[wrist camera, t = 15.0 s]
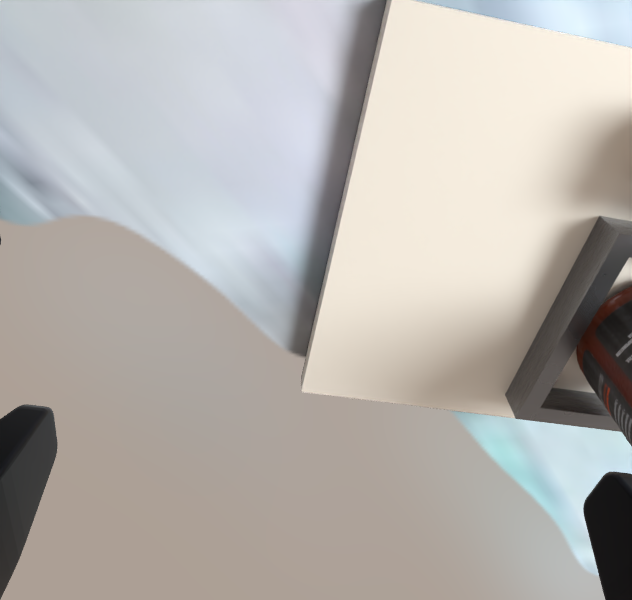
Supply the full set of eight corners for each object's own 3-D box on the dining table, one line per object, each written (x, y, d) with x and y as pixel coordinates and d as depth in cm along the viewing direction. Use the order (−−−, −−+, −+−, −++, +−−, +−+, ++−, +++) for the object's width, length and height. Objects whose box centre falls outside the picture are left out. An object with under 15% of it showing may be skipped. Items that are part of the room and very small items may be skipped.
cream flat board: (301, 377, 25) (301, 392, 24) (388, -6, 16) (392, -4, 15) (662, 422, 27) (673, 437, 26) (910, 108, 18) (938, 115, 17)
